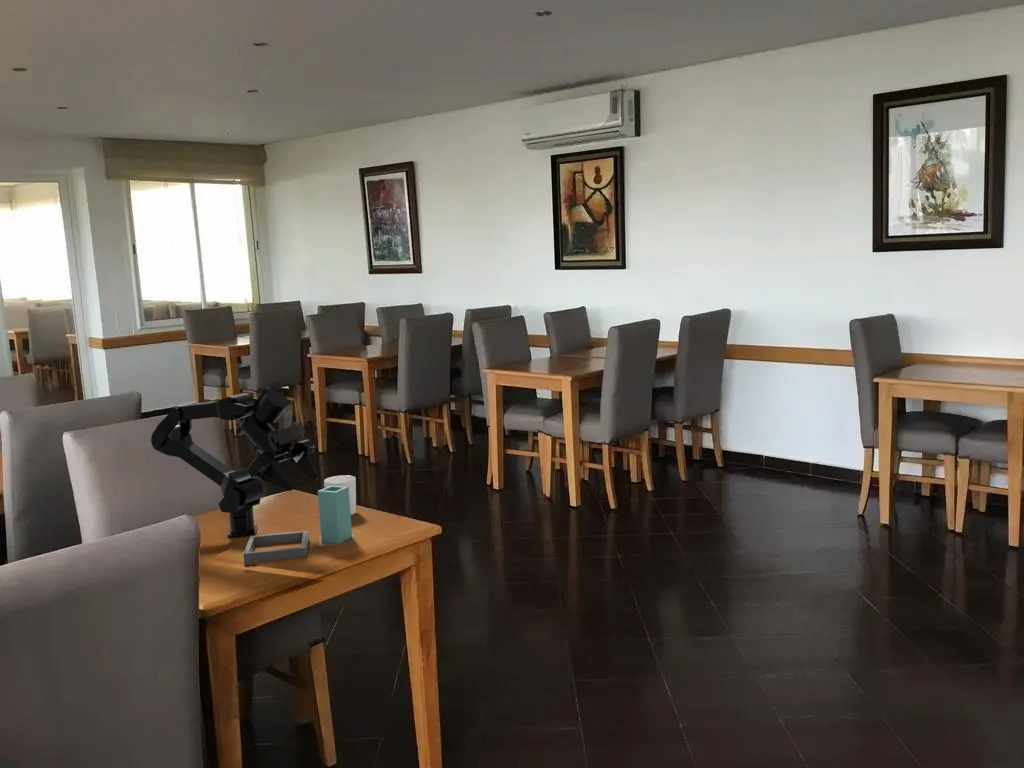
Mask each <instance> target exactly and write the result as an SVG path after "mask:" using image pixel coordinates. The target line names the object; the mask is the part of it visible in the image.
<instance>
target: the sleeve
mask: <svg viewBox="0 0 1024 768" xmlns="http://www.w3.org/2000/svg"><path fill="white" fill-rule="evenodd" d="M317 499H318V513H319V526H320V536H321V542H329V543H338V544H340V543H342V542H344V541H345V540H347V539H349V538H351V537H352V533H353V531H352V517H351V516H352V515H351V514H350V500H349V487H343V486H328V487H326V488H325V487H324V488H322V489H319V490H317ZM340 545H341V544H340Z"/></svg>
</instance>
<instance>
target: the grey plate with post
mask: <svg viewBox="0 0 1024 768" xmlns="http://www.w3.org/2000/svg"><path fill="white" fill-rule="evenodd" d="M349 544H350V545H351V544H355V532H352V537H351V538H349V539H347V540H345V541H344V542H342V543H340V544H338V543H329V542H321V535H319V540H318V547H328V546H335V545H336V546H339V545H349Z"/></svg>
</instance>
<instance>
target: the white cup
mask: <svg viewBox="0 0 1024 768" xmlns="http://www.w3.org/2000/svg"><path fill="white" fill-rule="evenodd" d="M323 482H324V488H326V487H328V486H343V487H349V500H350V514H351V516H353V515H354V514H355V513H357V511H356V510H357V508H356V505H357V490H356V489H357V488H356V487H357V485H356V484H357V482H356V476H353V475H348V474H347V475H341V474H340V475H335V476H330V477H327V478H325V479H324V481H323Z"/></svg>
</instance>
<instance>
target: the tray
mask: <svg viewBox="0 0 1024 768" xmlns="http://www.w3.org/2000/svg"><path fill="white" fill-rule="evenodd" d="M309 539H310V536H309V530H299V531H288V532H279V533H268V534H267V533H265V534H254V535H249V539H248V541H247V543H246V547H245V549H244V552H243V562H244V568H251V566H253V567H260V565H258V564H257V565H256V564H250V563H257V562H270V561H278V560H288V559H299V558H306V557H307V553H308V552H307V551H308V545H309V541H310V540H309ZM292 542H293V543H294V542H301V544H300V546H297V547H287V548H277V549H276V548H275V549H267V550H266V549H265V550H257V551H254V550H255V547H256V546H263V545H264V546H265V545H274V544H282V543H283V544H284V543H292Z"/></svg>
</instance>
